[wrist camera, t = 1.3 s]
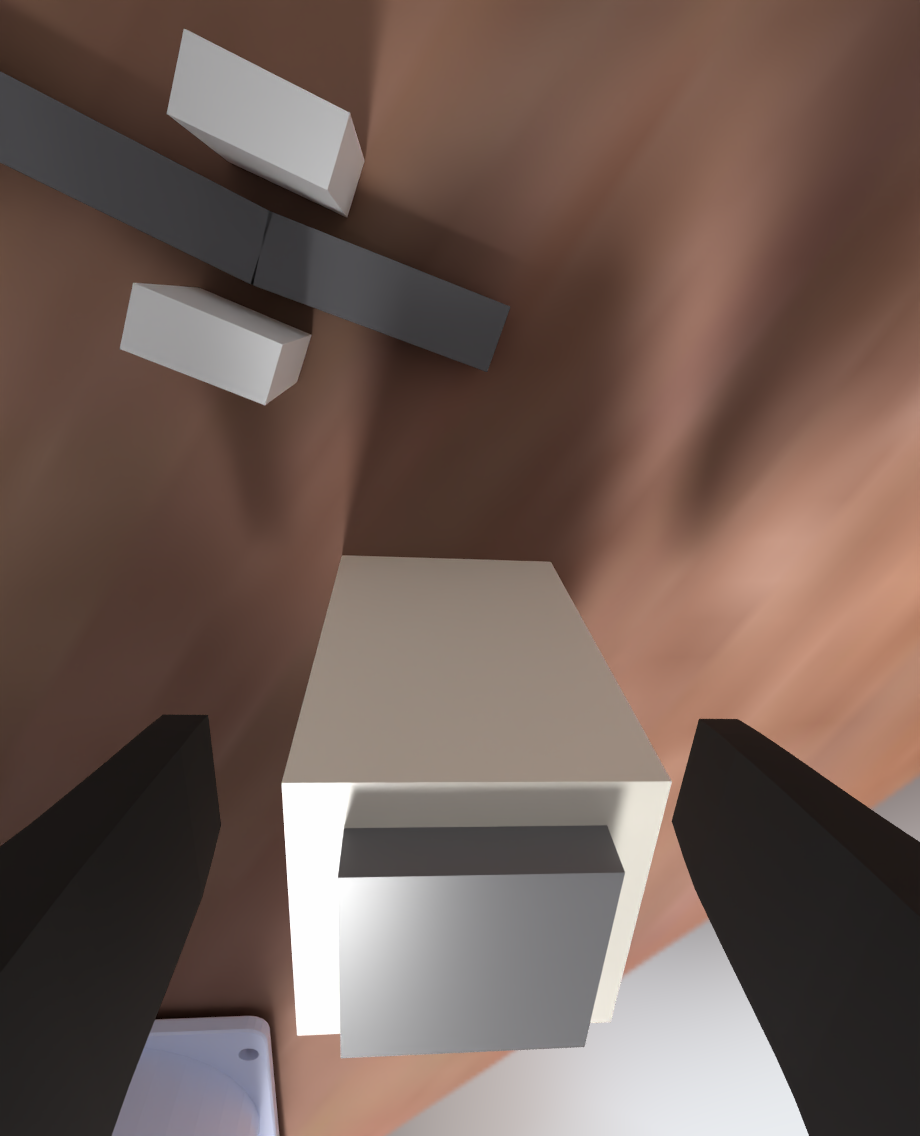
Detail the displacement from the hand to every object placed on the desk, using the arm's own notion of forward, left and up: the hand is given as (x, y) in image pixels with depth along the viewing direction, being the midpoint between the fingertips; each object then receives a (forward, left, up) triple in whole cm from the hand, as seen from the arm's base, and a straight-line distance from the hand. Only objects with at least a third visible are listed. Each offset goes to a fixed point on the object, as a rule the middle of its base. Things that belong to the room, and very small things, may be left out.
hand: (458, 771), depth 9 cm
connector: (0, 0, -4) cm, 4 cm away
